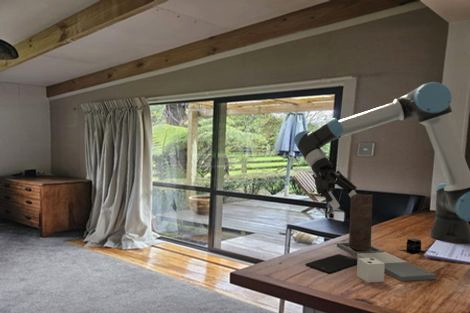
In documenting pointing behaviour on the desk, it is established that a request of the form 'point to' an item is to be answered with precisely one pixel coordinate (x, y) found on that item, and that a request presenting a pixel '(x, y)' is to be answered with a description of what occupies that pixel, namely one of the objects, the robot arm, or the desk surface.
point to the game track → (392, 264)
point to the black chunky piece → (413, 246)
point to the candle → (360, 222)
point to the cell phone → (333, 263)
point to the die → (370, 269)
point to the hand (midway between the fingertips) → (349, 207)
